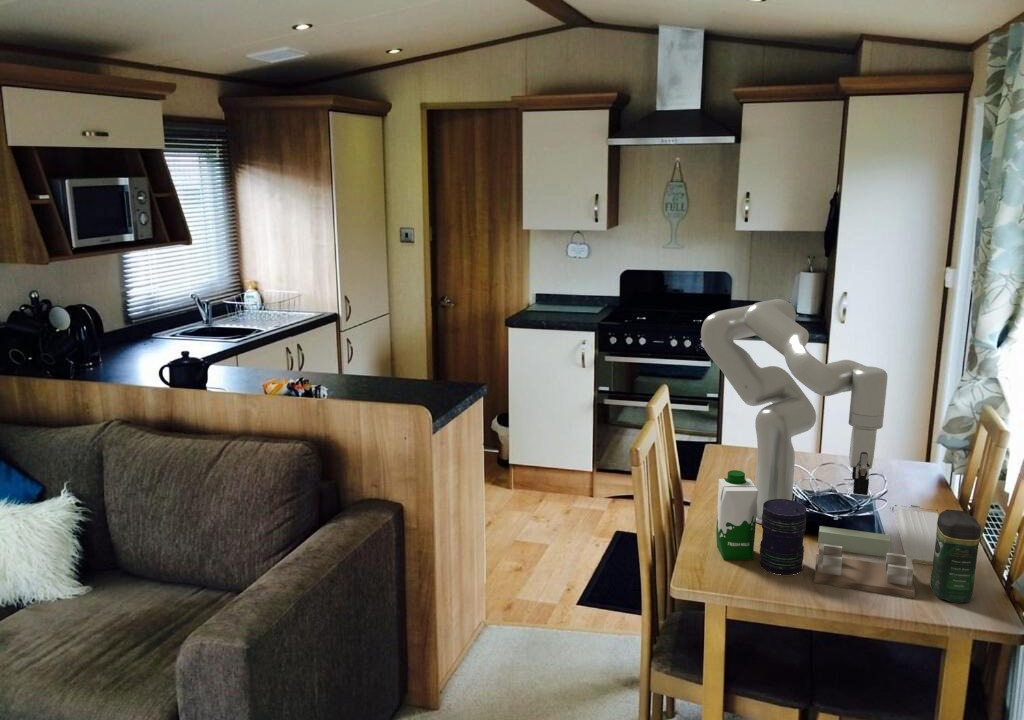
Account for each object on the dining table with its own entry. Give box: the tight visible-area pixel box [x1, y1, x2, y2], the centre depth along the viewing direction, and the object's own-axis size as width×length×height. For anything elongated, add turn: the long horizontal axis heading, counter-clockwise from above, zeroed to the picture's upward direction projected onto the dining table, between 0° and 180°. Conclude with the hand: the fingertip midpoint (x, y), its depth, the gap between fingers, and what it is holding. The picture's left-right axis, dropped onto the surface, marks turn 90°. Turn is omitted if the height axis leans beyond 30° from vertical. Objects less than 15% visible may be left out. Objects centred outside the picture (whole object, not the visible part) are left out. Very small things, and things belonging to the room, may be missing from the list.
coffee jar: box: [929, 508, 982, 604], centre depth 186 cm, size 10×8×19 cm
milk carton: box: [715, 469, 758, 561], centre depth 206 cm, size 9×9×20 cm
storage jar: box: [759, 499, 808, 576], centre depth 200 cm, size 10×10×15 cm
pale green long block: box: [817, 525, 891, 558], centre depth 210 cm, size 16×4×4 cm, turn 69°
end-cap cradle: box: [814, 543, 915, 599], centre depth 195 cm, size 21×12×6 cm, turn 69°
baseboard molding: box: [889, 504, 939, 566], centre depth 216 cm, size 31×3×12 cm
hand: (859, 486), depth 206 cm, fingers open, 9 cm apart
